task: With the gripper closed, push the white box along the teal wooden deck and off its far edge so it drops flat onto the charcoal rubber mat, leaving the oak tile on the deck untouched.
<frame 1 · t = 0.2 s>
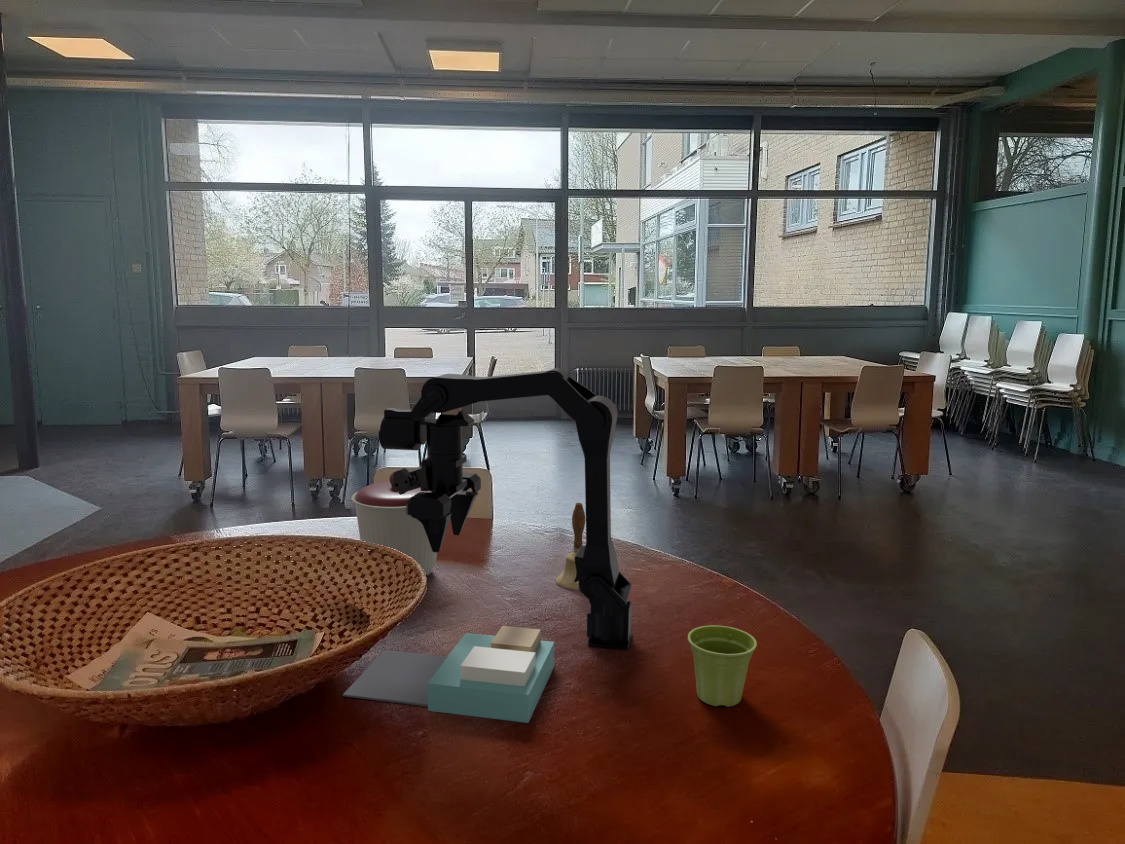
hand: (446, 543, 131), 14 cm above the table, fingers open, 9 cm apart
plant pot: (719, 698, 110), on the table
deck: (494, 687, 112), on the table
white box: (498, 672, 108), point 4 cm above the table, touching deck
hand bell: (577, 583, 153), on the table
canister: (401, 575, 156), on the table
mat: (406, 677, 115), on the table
oak tile: (516, 648, 116), point 4 cm above the table, touching deck
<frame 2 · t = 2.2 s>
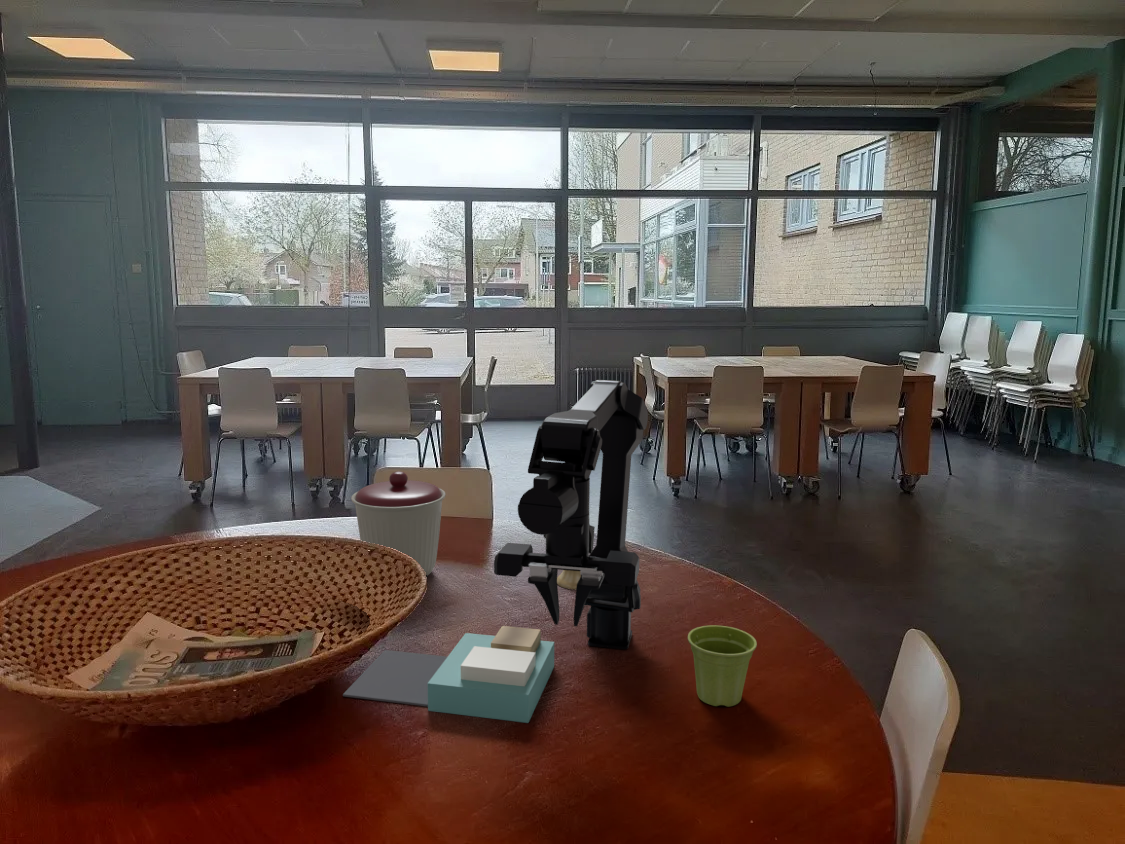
hand: (566, 624, 105), 12 cm above the table, fingers closed
nothing on the table moved.
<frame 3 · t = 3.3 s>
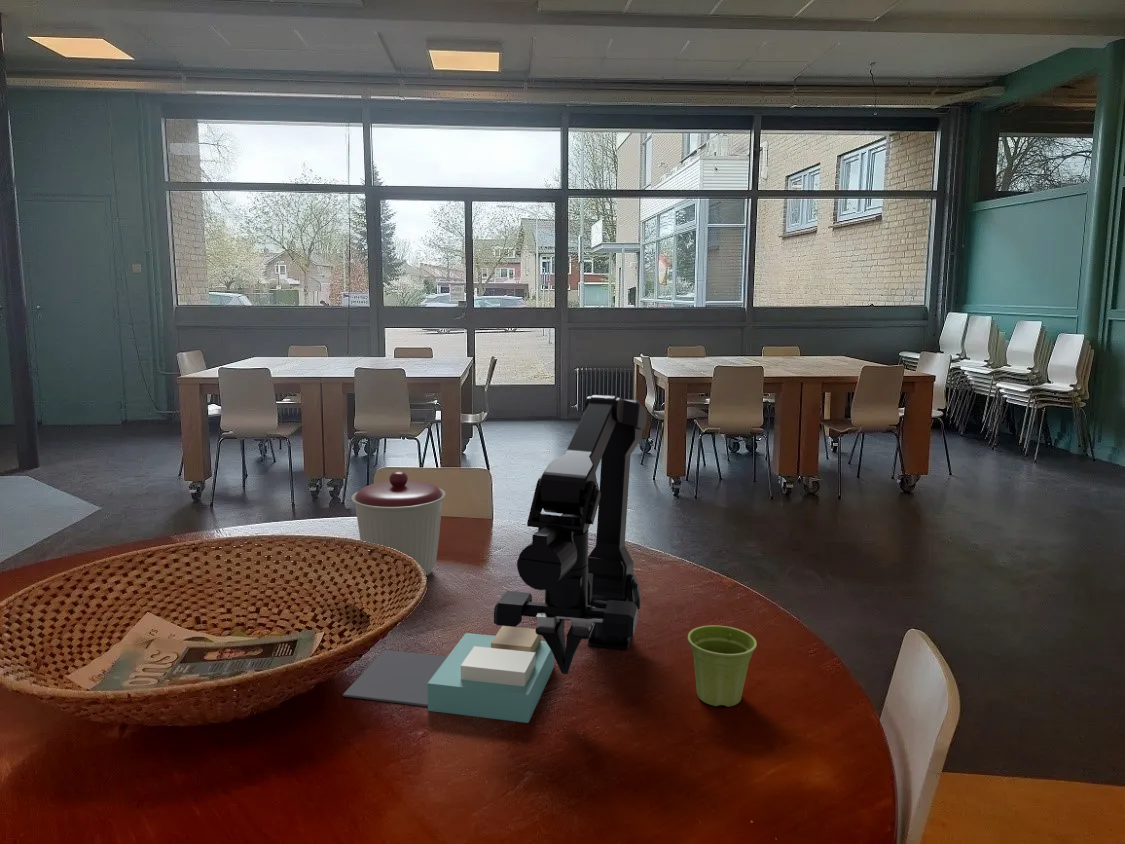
hand: (565, 672, 106), 5 cm above the table, fingers closed
nothing on the table moved.
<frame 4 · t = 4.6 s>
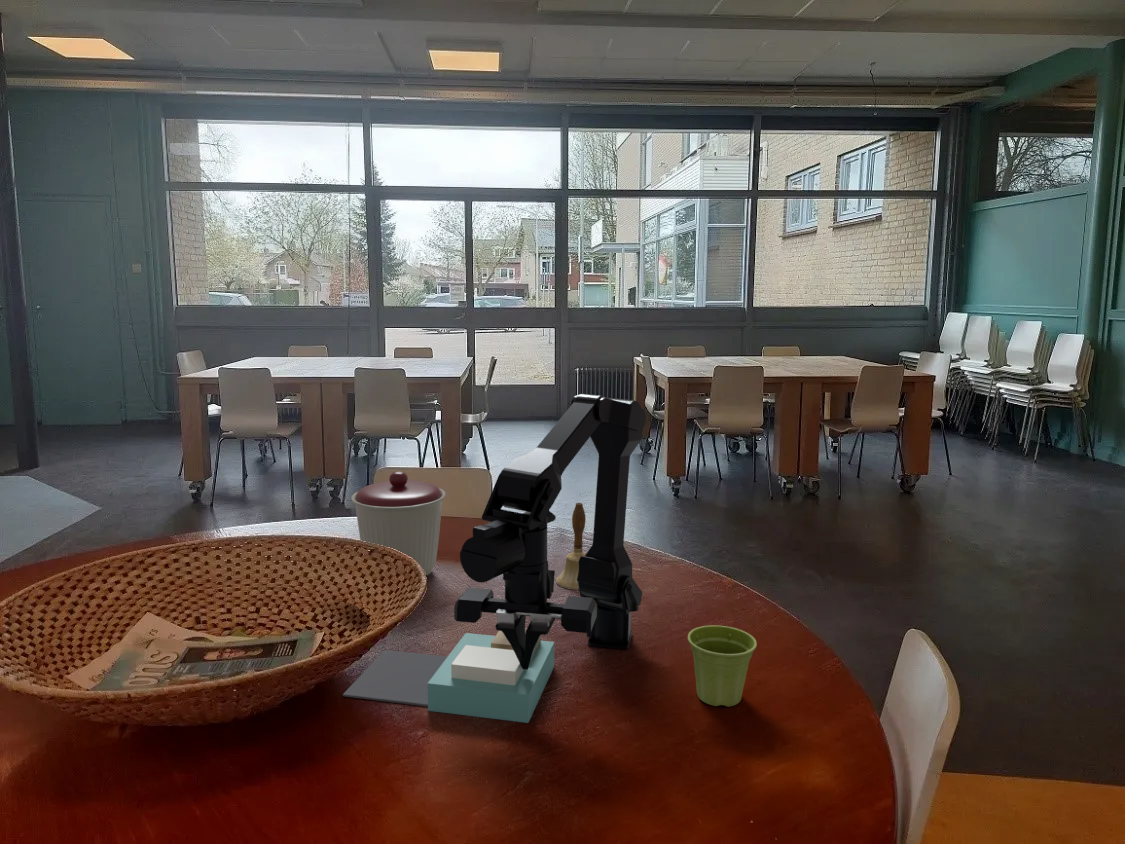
hand: (526, 668, 107), 5 cm above the table, fingers closed
white box: (489, 671, 109), point 4 cm above the table, touching gripper
everything else where it was.
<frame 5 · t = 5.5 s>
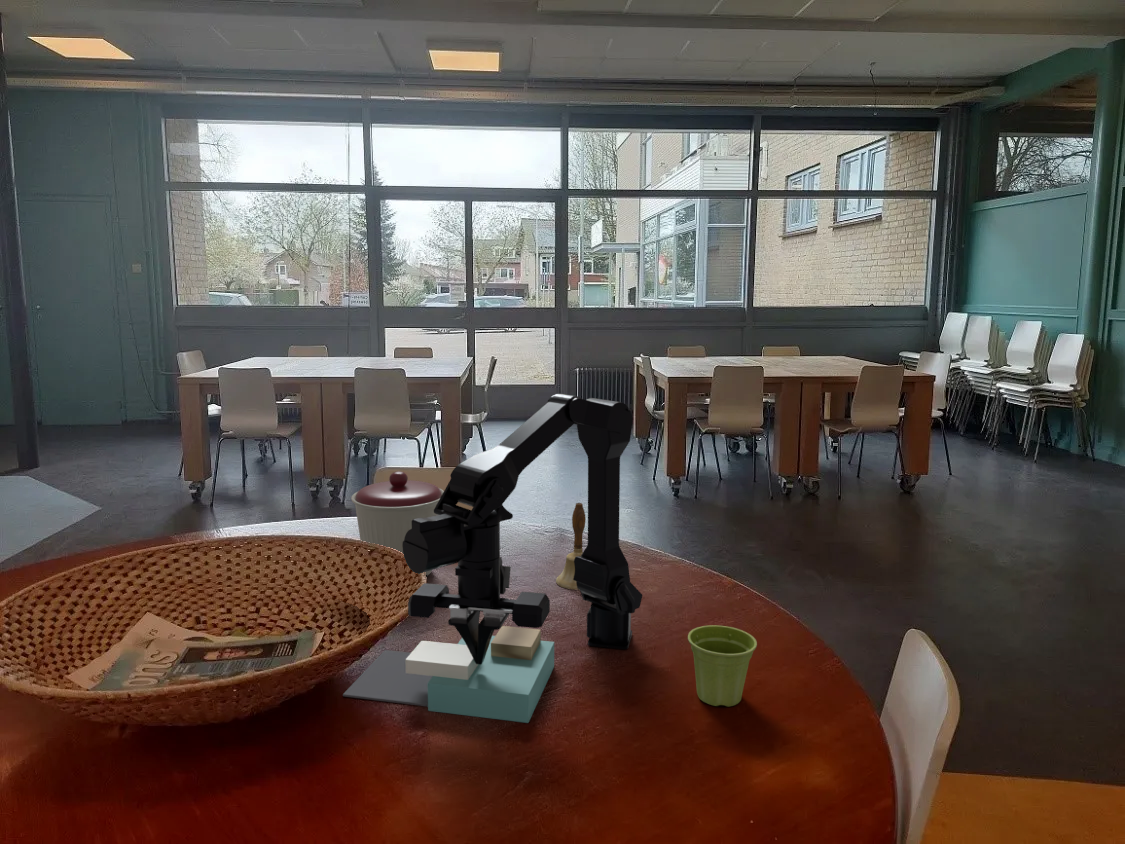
hand: (479, 663, 109), 5 cm above the table, fingers closed
white box: (444, 666, 110), point 4 cm above the table, touching deck
everything else where it was.
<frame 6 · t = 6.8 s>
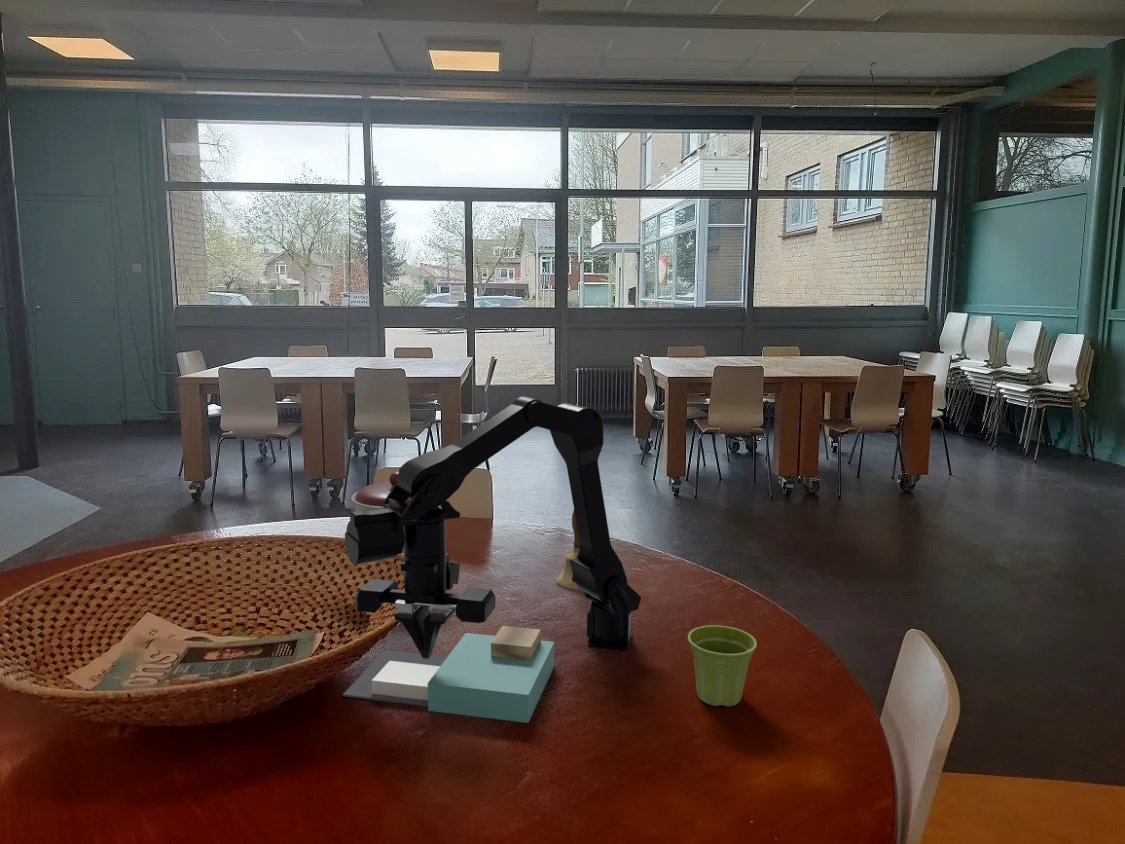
hand: (426, 657, 110), 5 cm above the table, fingers closed
white box: (410, 686, 112), resting on mat
everything else where it was.
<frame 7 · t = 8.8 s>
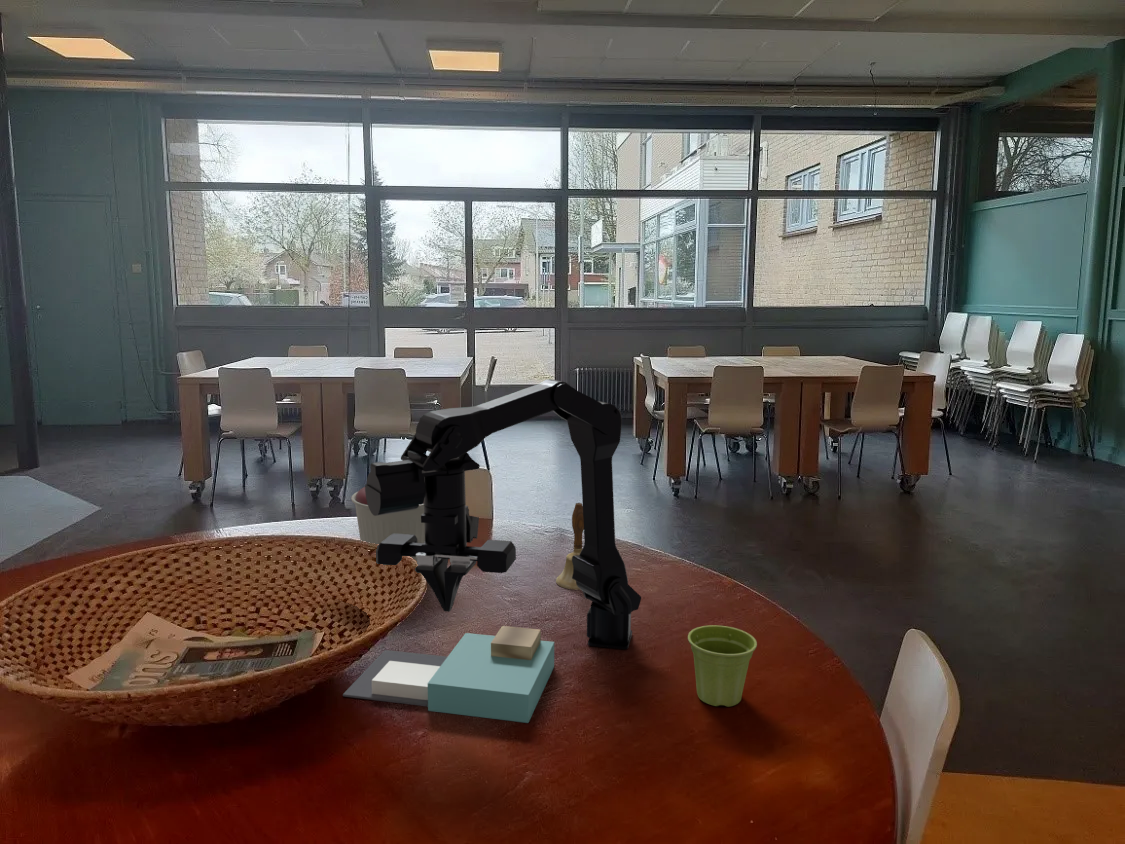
hand: (447, 610, 110), 12 cm above the table, fingers closed
nothing on the table moved.
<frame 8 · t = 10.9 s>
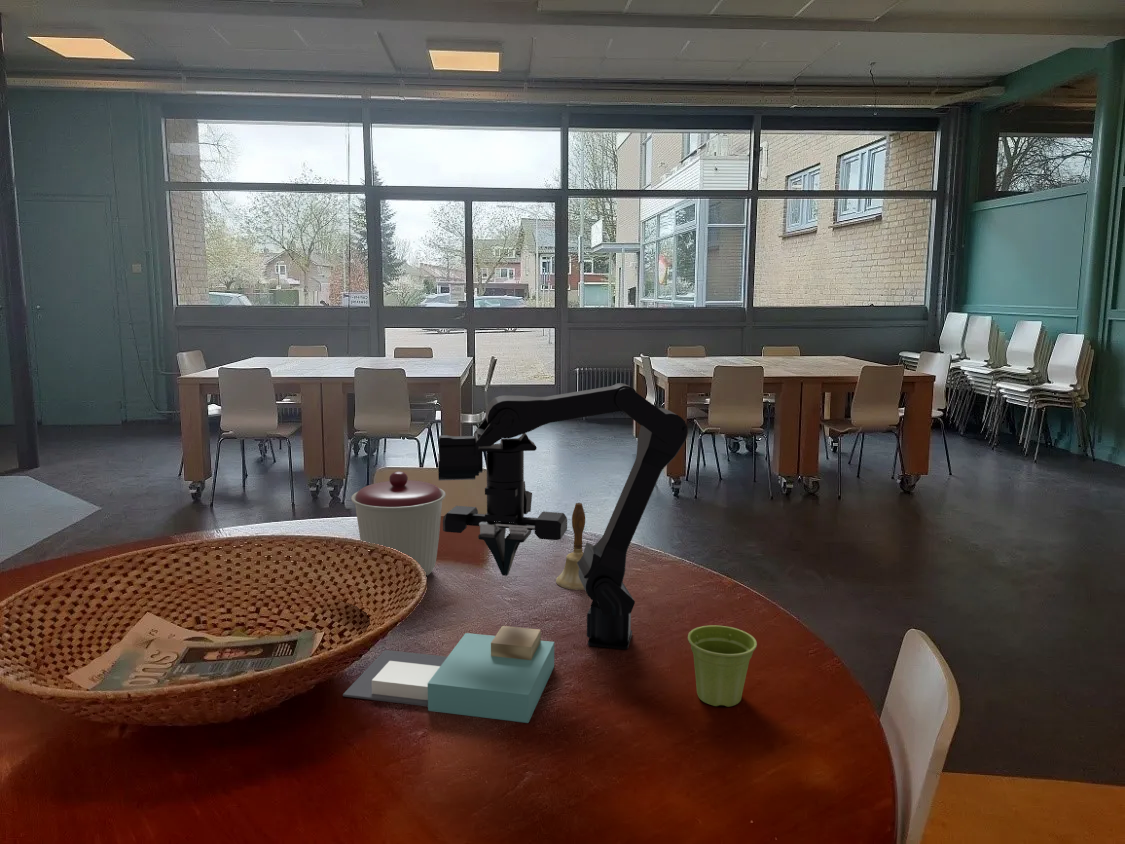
hand: (505, 574, 123), 12 cm above the table, fingers closed
nothing on the table moved.
at the end: white box inside the target area on the mat (3.5 cm from its centre), point 0.3 cm above the mat's base; white box resting on mat; oak tile moved 0.1 cm from its start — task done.
